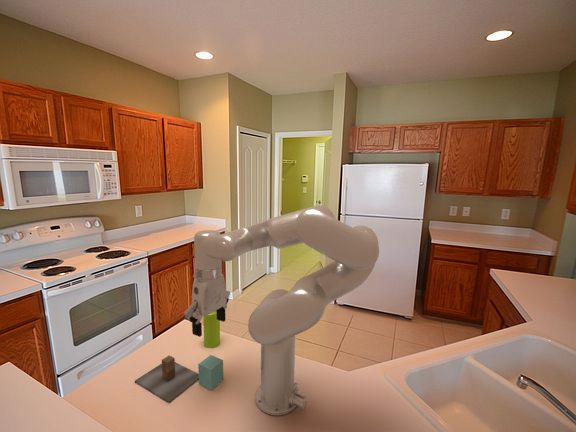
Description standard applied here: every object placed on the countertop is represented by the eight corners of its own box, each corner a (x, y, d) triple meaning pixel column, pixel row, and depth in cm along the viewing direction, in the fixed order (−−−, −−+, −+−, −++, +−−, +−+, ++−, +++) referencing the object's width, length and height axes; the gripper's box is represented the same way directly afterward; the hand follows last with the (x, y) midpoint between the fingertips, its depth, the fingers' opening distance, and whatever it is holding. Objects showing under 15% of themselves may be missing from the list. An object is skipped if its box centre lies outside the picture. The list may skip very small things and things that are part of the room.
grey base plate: (202, 377, 86) (201, 356, 85) (169, 403, 76) (168, 380, 75) (168, 360, 94) (168, 341, 93) (134, 382, 84) (133, 361, 83)
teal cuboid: (223, 379, 85) (223, 360, 84) (211, 390, 81) (210, 370, 80) (211, 373, 88) (210, 354, 87) (198, 384, 83) (198, 364, 82)
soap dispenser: (218, 349, 100) (217, 297, 98) (201, 347, 102) (199, 296, 99) (225, 340, 106) (224, 291, 104) (208, 338, 108) (207, 289, 105)
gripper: (194, 284, 71) (195, 345, 73) (237, 267, 86) (238, 318, 88) (174, 279, 74) (177, 337, 76) (219, 263, 89) (220, 312, 91)
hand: (209, 327), depth 82 cm, fingers open, 9 cm apart
